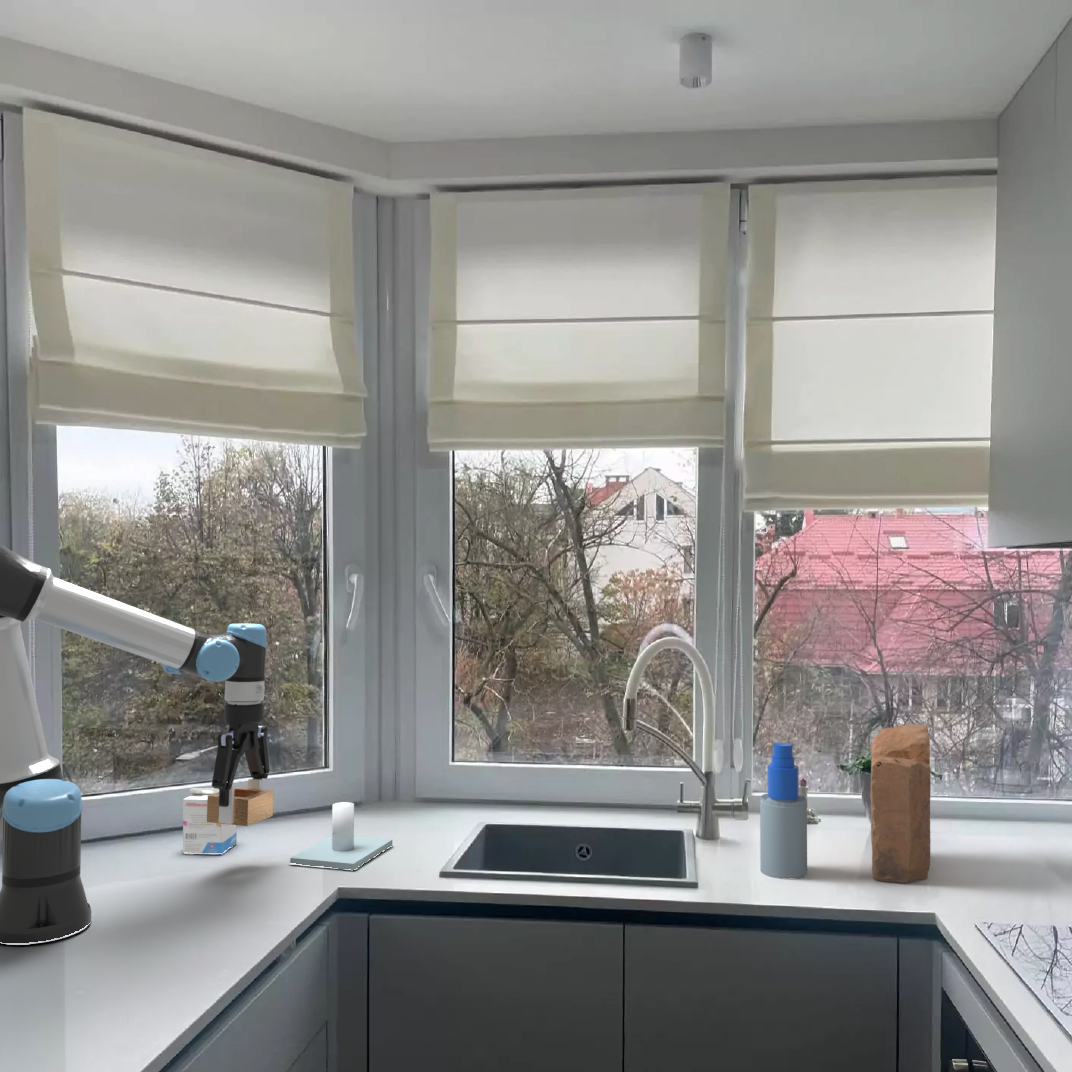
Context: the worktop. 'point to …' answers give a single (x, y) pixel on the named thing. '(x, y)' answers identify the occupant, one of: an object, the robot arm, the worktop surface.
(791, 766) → the spray bottle
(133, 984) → the worktop surface
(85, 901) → the robot arm
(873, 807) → the stone
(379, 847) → the post stand
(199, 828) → the ink box
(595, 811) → the worktop surface
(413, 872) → the worktop surface
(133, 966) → the worktop surface
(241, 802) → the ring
